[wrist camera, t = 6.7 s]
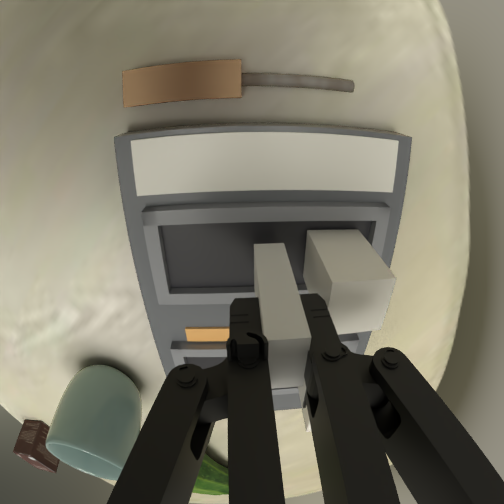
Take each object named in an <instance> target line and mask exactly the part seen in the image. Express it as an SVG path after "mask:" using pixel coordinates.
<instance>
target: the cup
mask: <svg viewBox="0 0 504 504" xmlns="http://www.w3.org/2000/svg"><path fill="white" fill-rule="evenodd" d="M141 420H142V403H141V396H140V393H139V391H138V389H137V387H136V385H135V384H134V383H133V381H132V380H131V379H130V378H129V377H127V376H126V375H125V374H124V373H122V372H121V371H119V370H117V369H115V368H113V367H110V366H107V365H91V366H88V367H85V368H83V369H82V370H80V371H79V372H78V373H77V374H76V375H75V376H74V377H73V378H72V380H71V381H70V383H69V384H68V386H67V388H66V390H65V392H64V394H63V396H62V398H61V400H60V402H59V405H58V407H57V410H56V412H55V415H54V417H53V420H52V423H51V426H50V428H49V431H48V434H47V438H46V443H45V445H46V448H47V449H48V451H49V452H50V453H52V454H53V455H54V456H55V457H57V458H58V459H60V460H61V461H63V462H64V463H66V464H68V465H70V466H72V467H74V468H76V469H78V470H80V471H82V472H85V473H87V474H90V475H93V476H96V477H100V478H104V479H109V480H116V481H117V480H118V478H119V476H120V473H121V471H122V469H123V467H124V465H125V463H126V461H127V458H128V456H129V454H130V452H131V450H132V448H133V446H134V444H135V441H136V439H137V437H138V435H139V433H140V429H141Z"/></svg>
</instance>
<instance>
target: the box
mask: <svg viewBox="0 0 504 504" xmlns="http://www.w3.org/2000/svg"><path fill="white" fill-rule="evenodd" d="M49 428H50V427H49V426H48V425H46V424H45V423H44V422H42V421H29V420H25V421H24V423H23V426H22V429H21V431H20V433H19V436H18V439H17V442H16V445H15V447H14V450H13V452H14V453H15V454H17V455H18V456H20V457H21V458H22V459H24V460H26V461H27V462H28V463H30V464H31V465H33V466H34V467H36V468H38V469H41V470H45V471H49V472H53V473H56V471H57V467H58V464H59V461H60V459H58V458H57V457H55V456H54V455H53V454H52V453H50V452H49V451H48V449H47V448H46V445H45V443H46V438H47V434H48V431H49Z"/></svg>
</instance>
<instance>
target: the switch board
mask: <svg viewBox="0 0 504 504" xmlns="http://www.w3.org/2000/svg"><path fill="white" fill-rule="evenodd" d="M114 143H115V152H116V161H117V169H118V176H119V183H120V190H121V196H122V203H123V209H124V214H125V220H126V226H127V231H128V236H129V241H130V246H131V251H132V255H133V260H134V264H135V269H136V273H137V277H138V281H139V285H140V290H141V293H142V297H143V301H144V305H145V309H146V312H147V316H148V320H149V323H150V326H151V330H152V333H153V337H154V340H155V343H156V346H157V350H158V353H159V356H160V359H161V362H162V365H163V368H164V371H165V374H166V377H167V375H168V374H169V372H170V371H171V370H172V369H173V368H175V367H176V366H178V365H182V364H195V365H197V366H200V367H201V368H202V369H206V368H210V367H213V366H216V365H218V364H220V363H221V362H223V361H224V360H225V359H226V357H227V350H226V343H227V339H228V338H229V324H230V305H231V303H232V302H233V300H234V299H235V298H252V297H255V290H254V244H269V243H284V245H285V248H286V252H287V255H288V258H289V262H290V265H291V268H292V271H293V275H294V278H295V282H296V285H297V288H298V292H299V294H309V293H308V290H307V287H306V284H305V281H304V278H303V272H304V262H305V250H306V238H307V230H346V229H358V230H359V231H360V232H361V234H362V235H363V236H364V237H365V238H366V240H367V241H368V242H369V243H370V245H371V246H372V247H373V248H374V250H375V251H376V252H377V253H378V255H379V256H380V257H381V259H382V260H383V261H384V262H385V264H386V265H387V266H388V268H389V269H390V265H391V261H392V256H393V252H394V248H395V243H396V239H397V234H398V229H399V224H400V219H401V213H402V208H403V202H404V196H405V190H406V183H407V176H408V169H409V161H410V152H411V143H412V137H409V136H406V135H403V134H400V133H396V132H390V131H383V130H375V129H366V128H356V127H346V126H333V125H318V124H297V123H228V124H206V125H191V126H179V127H168V128H158V129H149V130H141V131H134V132H127V133H124V134H121V135H118V136H116V137H114ZM371 332H372V331H366V332H357V333H348V334H339V335H338V337H339V339H340V342H341V343H343V344H344V345H346V346H347V347H348V349H349V350H350V351H351V352H353V353H356V354H361V355H364V352H365V349H366V347H367V344H368V341H369V338H370V335H371ZM272 397H273V405H274V410H287V409H298V408H302V406H301V401H300V395H299V390H298V387H287V388H274V389H272Z"/></svg>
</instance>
